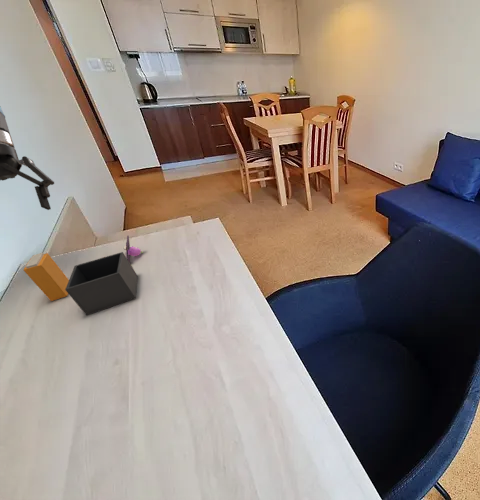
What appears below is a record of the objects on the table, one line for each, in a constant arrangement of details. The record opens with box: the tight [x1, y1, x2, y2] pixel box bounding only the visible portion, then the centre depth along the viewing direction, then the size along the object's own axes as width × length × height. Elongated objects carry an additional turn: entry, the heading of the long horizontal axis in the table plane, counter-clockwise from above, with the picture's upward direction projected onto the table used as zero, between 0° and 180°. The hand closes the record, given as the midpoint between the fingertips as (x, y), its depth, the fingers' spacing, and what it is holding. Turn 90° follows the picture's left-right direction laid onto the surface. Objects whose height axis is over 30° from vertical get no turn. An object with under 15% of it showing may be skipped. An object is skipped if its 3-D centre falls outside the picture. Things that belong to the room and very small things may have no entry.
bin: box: [65, 251, 138, 316], centre depth 88 cm, size 12×12×10 cm
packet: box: [23, 252, 70, 302], centre depth 90 cm, size 4×7×13 cm, turn 28°
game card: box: [123, 235, 144, 262], centre depth 106 cm, size 7×5×9 cm
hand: (18, 215), depth 86 cm, fingers open, 13 cm apart
